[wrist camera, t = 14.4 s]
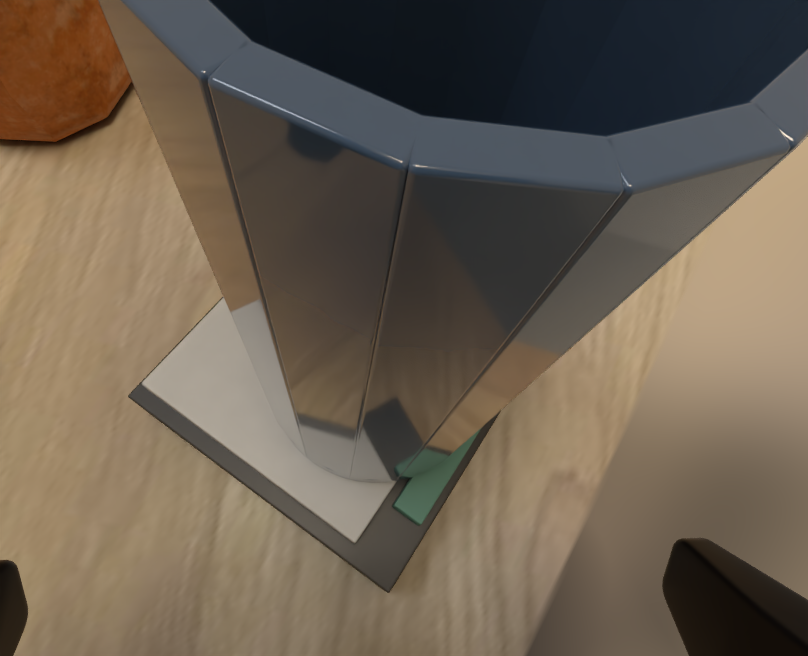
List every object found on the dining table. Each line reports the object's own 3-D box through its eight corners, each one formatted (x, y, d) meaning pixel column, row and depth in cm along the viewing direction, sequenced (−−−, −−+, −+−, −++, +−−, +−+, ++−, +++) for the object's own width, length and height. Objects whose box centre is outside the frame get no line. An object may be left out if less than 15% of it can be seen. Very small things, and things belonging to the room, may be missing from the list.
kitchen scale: (528, 355, 21) (554, 327, 19) (383, 589, 17) (391, 595, 15) (324, 221, 23) (323, 178, 20) (147, 411, 19) (117, 388, 16)
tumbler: (482, 488, 16) (1026, 233, 3) (255, 478, 16) (-102, 116, 3) (477, 290, 19) (776, -270, 6) (283, 274, 18) (162, -390, 5)
